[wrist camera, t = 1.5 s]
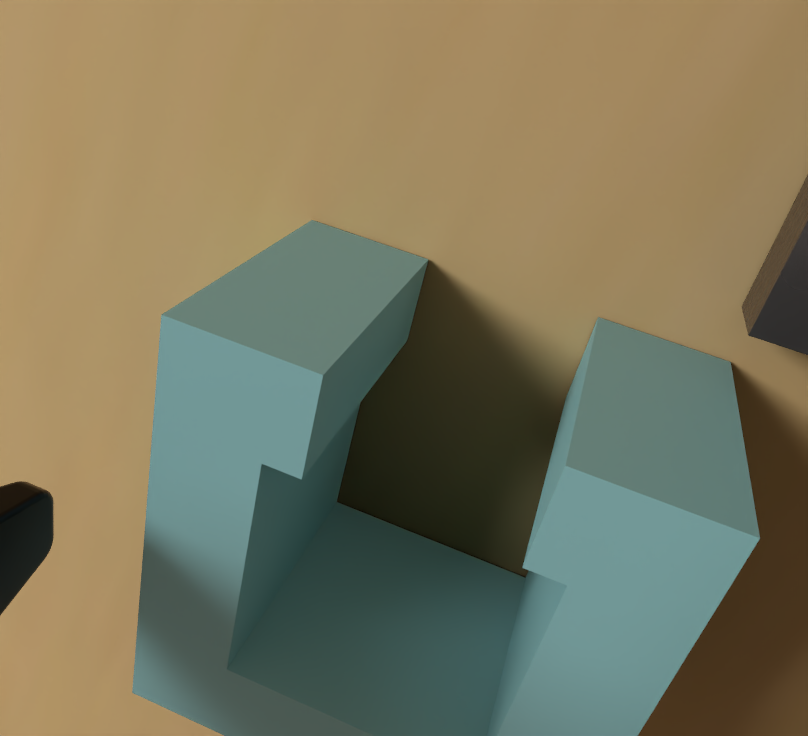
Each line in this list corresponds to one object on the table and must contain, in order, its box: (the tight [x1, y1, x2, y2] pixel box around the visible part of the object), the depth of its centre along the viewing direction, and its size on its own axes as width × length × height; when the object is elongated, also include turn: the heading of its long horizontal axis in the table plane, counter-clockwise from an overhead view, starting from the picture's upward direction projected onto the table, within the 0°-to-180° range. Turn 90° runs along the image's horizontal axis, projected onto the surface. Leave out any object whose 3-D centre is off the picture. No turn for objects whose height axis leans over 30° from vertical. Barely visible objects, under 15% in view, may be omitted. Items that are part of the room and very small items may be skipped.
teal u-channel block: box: [132, 220, 760, 736], centre depth 11 cm, size 6×6×4 cm
